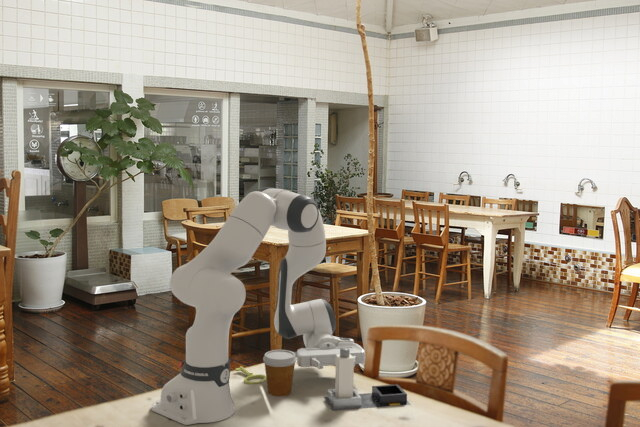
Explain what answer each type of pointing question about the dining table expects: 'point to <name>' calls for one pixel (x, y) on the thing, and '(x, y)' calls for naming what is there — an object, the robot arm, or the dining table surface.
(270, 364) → the disposable coffee cup
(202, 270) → the robot arm
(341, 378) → the plug
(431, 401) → the dining table surface
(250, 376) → the key
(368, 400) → the panel
